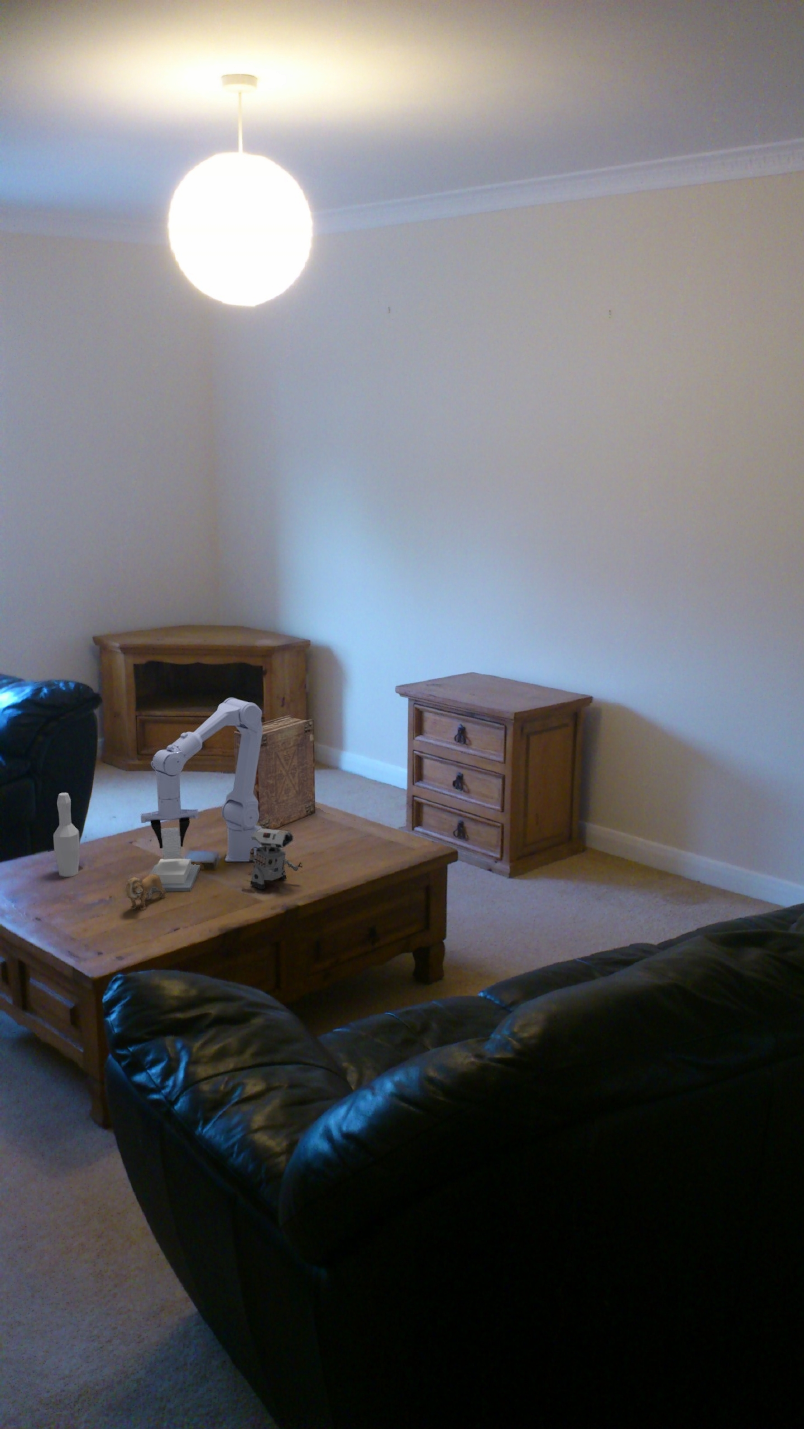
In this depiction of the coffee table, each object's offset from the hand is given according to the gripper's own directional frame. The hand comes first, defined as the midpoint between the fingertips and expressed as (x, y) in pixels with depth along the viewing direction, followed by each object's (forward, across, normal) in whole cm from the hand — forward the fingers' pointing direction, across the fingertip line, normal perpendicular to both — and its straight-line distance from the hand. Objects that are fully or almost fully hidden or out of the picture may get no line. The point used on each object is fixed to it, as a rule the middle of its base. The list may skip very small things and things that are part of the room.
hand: (171, 846), depth 284 cm
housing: (+2, 0, 0) cm, 2 cm away
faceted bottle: (+9, +26, -10) cm, 30 cm away
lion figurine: (+9, +7, +16) cm, 20 cm away
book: (+9, -34, -39) cm, 52 cm away
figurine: (+9, -25, +11) cm, 29 cm away
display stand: (+9, 0, 0) cm, 9 cm away
